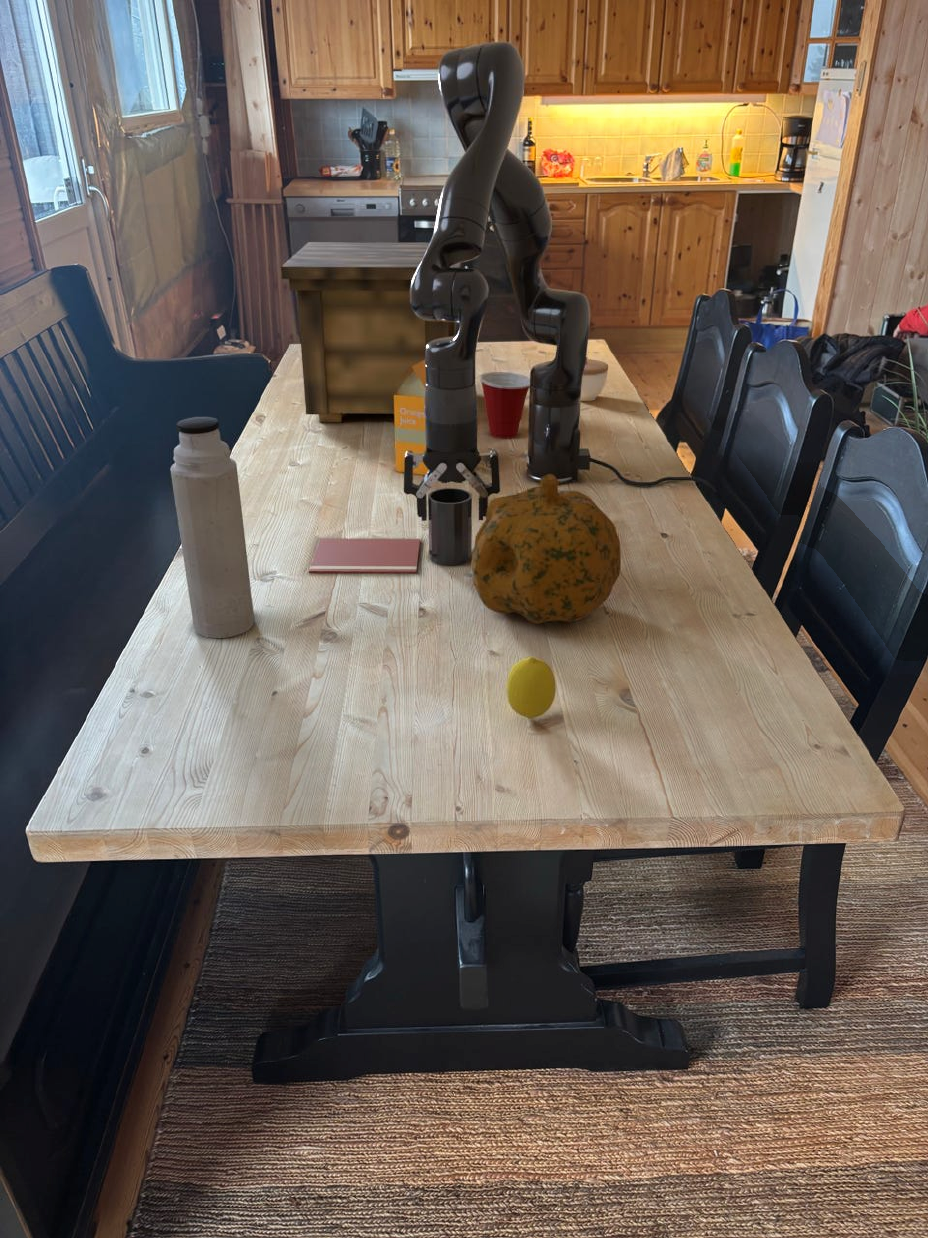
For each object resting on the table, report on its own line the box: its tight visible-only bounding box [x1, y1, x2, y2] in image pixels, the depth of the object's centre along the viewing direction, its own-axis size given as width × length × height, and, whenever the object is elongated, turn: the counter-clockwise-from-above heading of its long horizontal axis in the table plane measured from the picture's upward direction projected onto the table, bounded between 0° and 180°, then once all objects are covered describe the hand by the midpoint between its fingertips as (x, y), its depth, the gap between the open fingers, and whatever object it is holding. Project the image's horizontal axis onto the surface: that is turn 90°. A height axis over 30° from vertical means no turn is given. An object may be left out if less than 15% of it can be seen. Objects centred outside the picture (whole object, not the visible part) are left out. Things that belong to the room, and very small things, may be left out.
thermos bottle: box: [170, 416, 255, 639], centre depth 125 cm, size 8×8×28 cm
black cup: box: [427, 487, 473, 567], centre depth 149 cm, size 6×6×10 cm
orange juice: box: [393, 360, 429, 476], centre depth 183 cm, size 8×9×20 cm
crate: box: [280, 241, 462, 423], centre depth 216 cm, size 35×35×33 cm
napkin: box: [308, 538, 421, 574], centre depth 151 cm, size 16×12×1 cm
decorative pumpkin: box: [470, 474, 622, 625], centre depth 132 cm, size 20×21×20 cm
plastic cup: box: [479, 371, 530, 439], centre depth 202 cm, size 11×11×12 cm
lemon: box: [505, 656, 557, 720], centre depth 110 cm, size 6×6×8 cm
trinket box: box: [581, 356, 609, 402], centre depth 227 cm, size 11×11×9 cm
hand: (452, 518), depth 148 cm, fingers open, 8 cm apart
